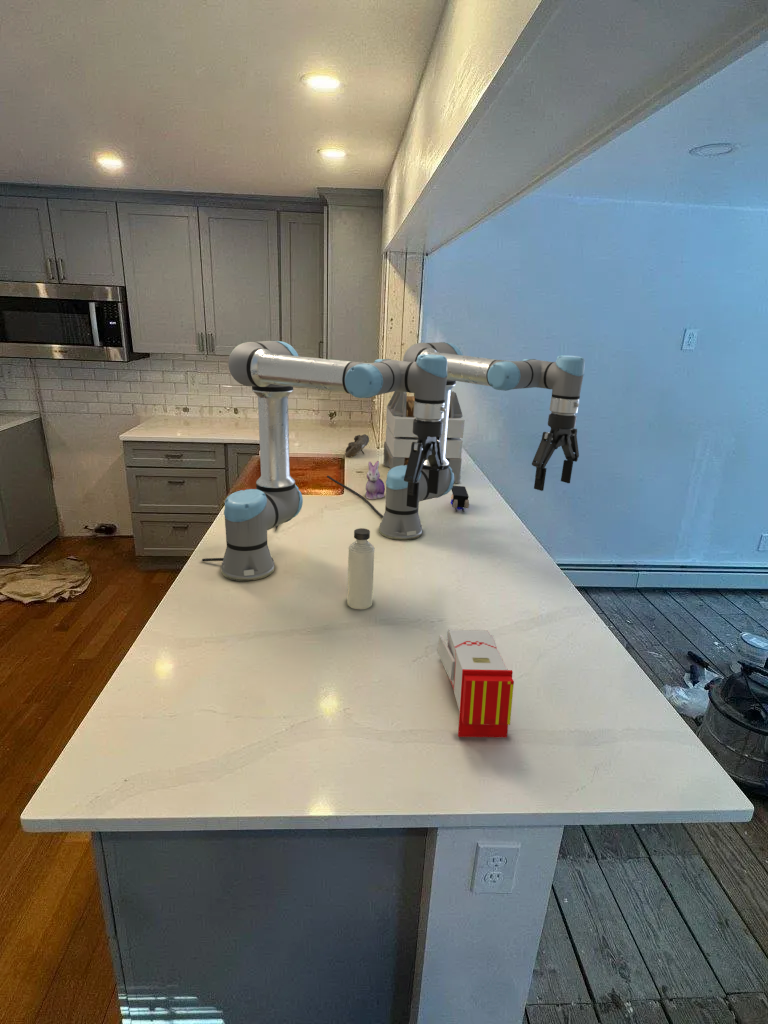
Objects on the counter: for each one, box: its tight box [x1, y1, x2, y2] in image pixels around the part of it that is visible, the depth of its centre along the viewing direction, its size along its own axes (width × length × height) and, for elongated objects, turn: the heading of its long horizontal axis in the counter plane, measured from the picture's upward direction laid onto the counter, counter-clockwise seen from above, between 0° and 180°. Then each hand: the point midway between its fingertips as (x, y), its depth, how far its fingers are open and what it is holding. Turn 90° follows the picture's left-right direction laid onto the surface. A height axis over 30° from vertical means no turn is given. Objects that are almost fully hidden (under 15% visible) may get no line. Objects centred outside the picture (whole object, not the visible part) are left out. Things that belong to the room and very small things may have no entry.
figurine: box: [364, 460, 386, 500], centre depth 235 cm, size 9×10×15 cm
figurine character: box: [450, 485, 470, 513], centre depth 227 cm, size 7×8×15 cm
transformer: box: [383, 390, 465, 484], centre depth 268 cm, size 34×33×41 cm
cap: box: [353, 527, 371, 541], centre depth 145 cm, size 4×4×2 cm
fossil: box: [344, 433, 370, 458], centre depth 304 cm, size 22×10×15 cm
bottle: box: [346, 539, 375, 610], centre depth 149 cm, size 7×7×20 cm
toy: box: [437, 628, 515, 738], centre depth 117 cm, size 12×13×30 cm
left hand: (422, 499), depth 149 cm, fingers open, 13 cm apart
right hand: (552, 485), depth 166 cm, fingers open, 13 cm apart
